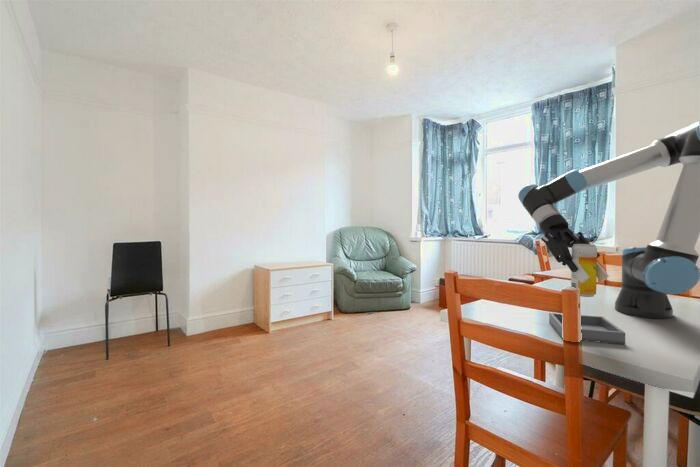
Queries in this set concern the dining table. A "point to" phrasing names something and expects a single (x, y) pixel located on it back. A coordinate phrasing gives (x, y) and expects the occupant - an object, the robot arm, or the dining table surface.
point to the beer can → (585, 268)
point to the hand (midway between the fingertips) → (595, 279)
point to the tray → (592, 328)
